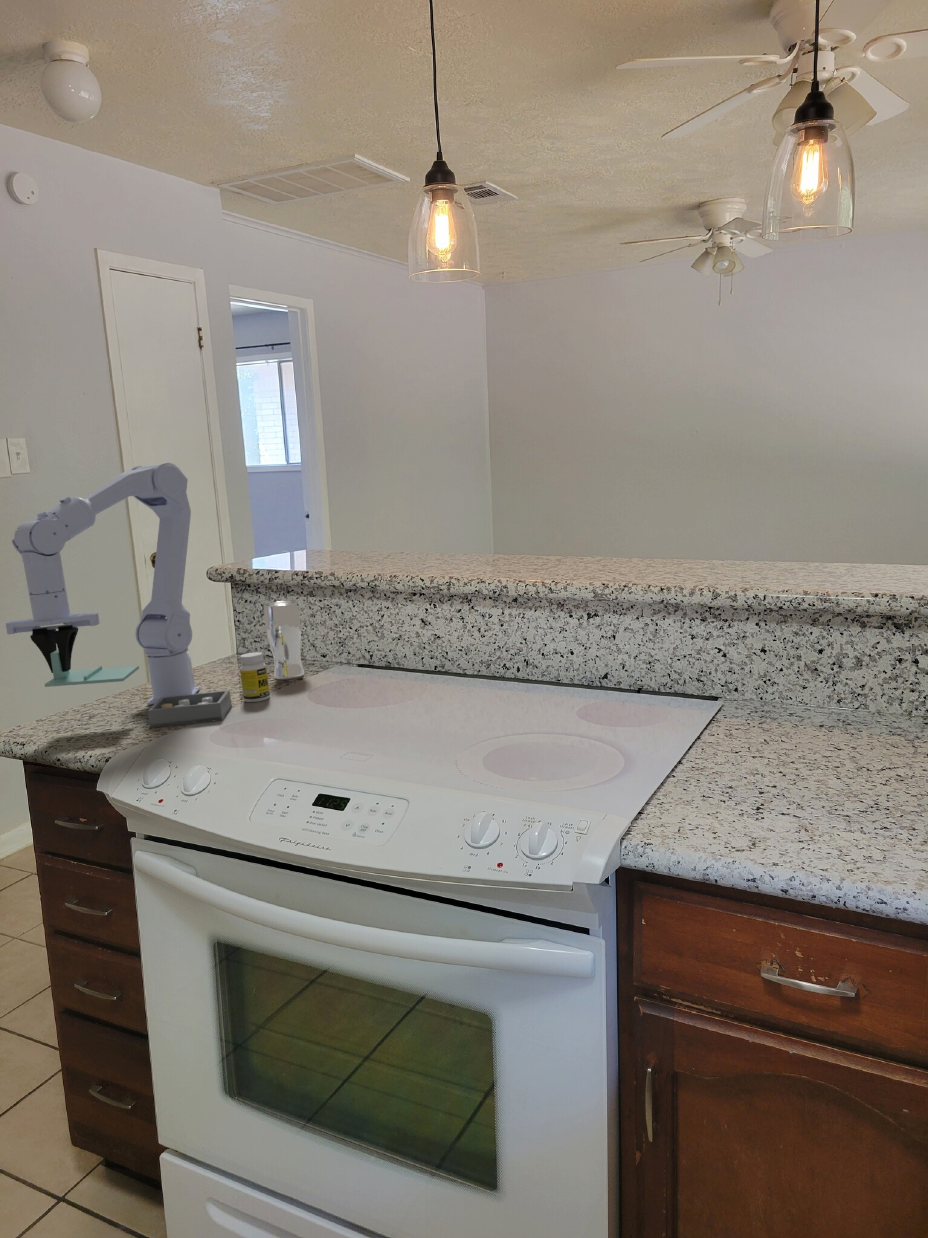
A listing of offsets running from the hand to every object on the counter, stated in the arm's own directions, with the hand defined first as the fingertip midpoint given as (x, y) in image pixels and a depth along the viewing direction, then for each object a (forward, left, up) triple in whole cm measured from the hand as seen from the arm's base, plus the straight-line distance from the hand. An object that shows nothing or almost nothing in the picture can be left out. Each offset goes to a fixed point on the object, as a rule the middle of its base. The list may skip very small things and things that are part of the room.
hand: (61, 671), depth 150 cm
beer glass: (-25, +35, -11) cm, 44 cm away
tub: (0, +21, -10) cm, 23 cm away
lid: (0, +5, -2) cm, 5 cm away
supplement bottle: (-8, +31, -11) cm, 33 cm away
